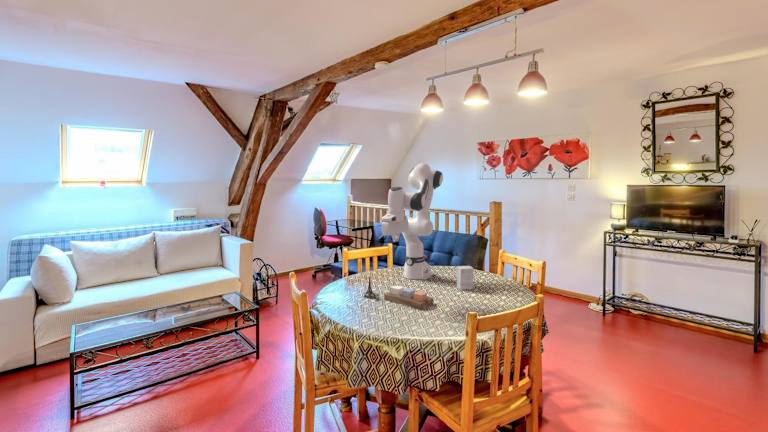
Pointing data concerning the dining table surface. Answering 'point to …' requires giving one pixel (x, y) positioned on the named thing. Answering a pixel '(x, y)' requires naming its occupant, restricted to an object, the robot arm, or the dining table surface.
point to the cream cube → (397, 290)
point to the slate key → (408, 293)
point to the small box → (464, 277)
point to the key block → (408, 301)
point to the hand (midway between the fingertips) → (395, 241)
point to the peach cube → (420, 296)
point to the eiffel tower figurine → (371, 293)
